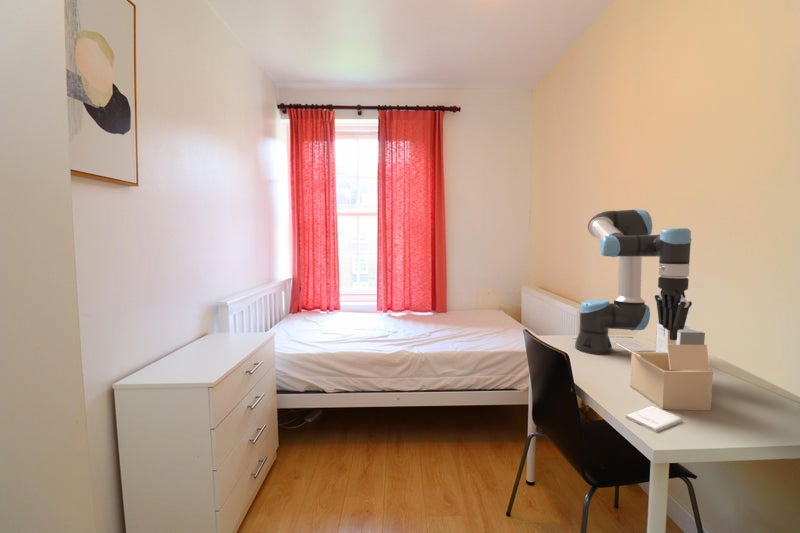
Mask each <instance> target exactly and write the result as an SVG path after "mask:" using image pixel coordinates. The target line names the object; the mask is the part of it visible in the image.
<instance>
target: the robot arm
mask: <svg viewBox="0 0 800 533" xmlns="http://www.w3.org/2000/svg"><path fill="white" fill-rule="evenodd" d="M652 230H653V220H652V217H651V215H650V213H649V212H648V211H647V210H645V209H626V210H624V209H623V210H607V211H602V212H599V213H596V215H593V217H592V218H591V219H590V220H589V222H588V223H587V231H588V232H589V234H590V235H591V236H592V237H594V238H595V239H598V241H599V242H600V243H599V250H600V255H601V256H603V257H611V258H616V257H618V266H617V268H618V270H617V271H618V273H617V280H618V281H617V296H616V297H615V298H614V299H613V303H611V302H610V300H607V299H598V298H597V299H588V300H584V301H582V302H580V307H579V332H578V334H577V337H576V339H575V342H574V343H575V344H574V347H575V349H576V350H578V351H581V352H583V353H587V354H593V355H608V354H611V353H612V352H613V345H612V342H611V339H610V337H609V329H613V330H627V331H628V330H629V331H632V332H633V331H642V330H645V329H646V328H647V327H648V326H649V323H650V317H651V311H650V307H649V305H648V304H645V303H646V301H645V300H644V299H643V298H642V296H641V295H642V288H641V287H642V257H643V258H644V257H645V258H647V257H648V258H650V257H653V258H654V257H655V258H656V257H658V262H659V264H658V269H659V270H658V275H659V277H658V279H657V287H658V288H659V289H661V290H660V293H659V294H658V295H657V294H656V295H654V299H655V302H656V309H657V310H656V311H657V315H658V316H657V317H658V318H657V319H658V322H659V324H660V325H663V328H664V348H665V349H668V348H667V345H676V340H677V332H678V330H683V329H684V326H686V321H687V318H688V314H689V309H690V308H691V306H692V304H693V302H692V301H690V300H689V301H688V300H687V299H686V294H685V291H687V290H688V289H689V282H690V281H689V278H688V277H689V276H690V259H691V244H692V234H691V232H692V231H691V230H690V229H689V228H688V227H685V228H683V227H682V228H681V227H680V228H663V229H661V230H660V234H652Z"/></svg>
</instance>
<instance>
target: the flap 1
mask: <svg viewBox="0 0 800 533" xmlns="http://www.w3.org/2000/svg"><path fill="white" fill-rule="evenodd" d="M615 344H616V345H617V346H619V347H621V348H622V349H624V350H626V351H627V352H629V353H630V354H634V355H636V356H637V357H639V358H641V359H643V360H645V361H647V362H648V363H650V364H652V365H654V366H656V365H655V364H653V363H651V362H650V361H648V360H646V359H645V358H643V357H642V356H640V355H638V354H636V353H635V352H634V351H632V350H631V349H628V348H627V347H625V346H623V345H621V344H619V343H618V342H616V343H615ZM656 367H658V366H656ZM658 368H659V367H658Z"/></svg>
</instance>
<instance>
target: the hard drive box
mask: <svg viewBox="0 0 800 533" xmlns="http://www.w3.org/2000/svg"><path fill="white" fill-rule="evenodd" d="M705 337H706V332H703V331H701V330H698V329H696V328H693V327H690V326H687V325H685V326H684V329H683V330H678V332H677V340H676V345H705V339H706V338H705ZM655 352H668V349H665V348H664V328H663V325H660V324H659V321H657V322H656V335H655Z"/></svg>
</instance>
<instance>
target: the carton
mask: <svg viewBox="0 0 800 533" xmlns="http://www.w3.org/2000/svg"><path fill="white" fill-rule="evenodd" d="M634 353H636V354H638V355H640V356H642V357H643V358H645V359H646V360H648V361H650V362H651V363H653V364H655V365H656V366H658V367H659V368H658V367H656V366H654V365H652V364H650V363H648V362H647V361H645V360H643V359H641V358H639V357H637V356H636V355H634V354H632V353H630V354H631V358H630V360H631V361H630V382H629V383H630V384H629V386H630V388H632V389H633V390H634V391H636V392H637V393H639V394H640V395H641V396H643V397H644V398H646V399H647V400H649V401H650V402H652V404H654V405H655V406H657V408H659V409H661V410H670V411H671V410H672V411H673V410H674V411H675V410H676V411H677V410H678V411H679V410H681V411H683V410H684V411H685V410H686V411H687V410H688V411H690V410H691V411H693V410H694V411H711V408H712V394H713V378H714V376H713V375H714V374H713V373H714V372H713V371H712V370H713V369H712V368H710V367H709V369H710V370H670V367H669V357H668V352H656V351H653V352H651V351H650V352H649V351H647V352H645V351H642V352H640V351H639V352H638V351H637V352H636V351H635V352H634Z"/></svg>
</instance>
